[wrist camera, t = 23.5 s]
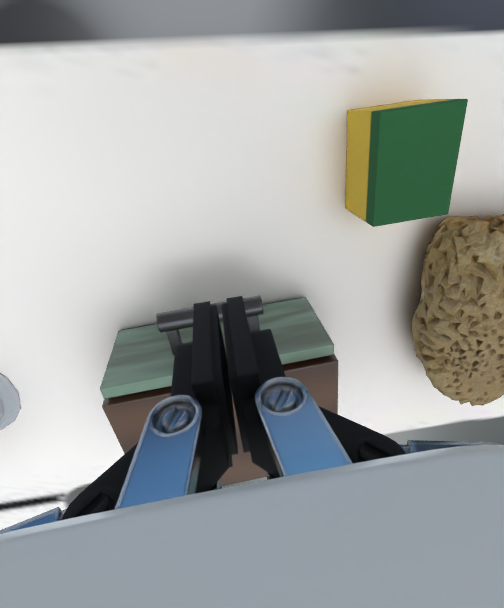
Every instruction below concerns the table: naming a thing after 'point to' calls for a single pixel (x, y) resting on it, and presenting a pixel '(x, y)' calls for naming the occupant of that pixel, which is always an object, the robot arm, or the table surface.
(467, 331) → the sponge
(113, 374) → the drawer
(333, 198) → the table surface
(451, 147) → the dish sponge
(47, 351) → the table surface
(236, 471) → the drawer unit
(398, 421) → the table surface
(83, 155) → the table surface
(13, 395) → the french press
